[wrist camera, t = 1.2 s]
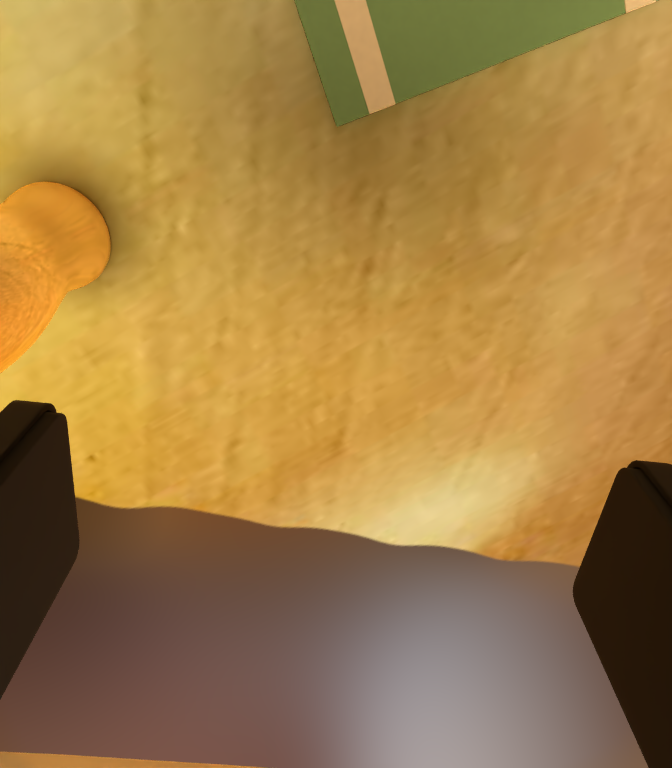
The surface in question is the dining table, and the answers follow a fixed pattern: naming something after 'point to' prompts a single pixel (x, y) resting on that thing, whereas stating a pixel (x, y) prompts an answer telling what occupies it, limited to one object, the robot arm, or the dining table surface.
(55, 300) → the beer glass
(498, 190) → the dining table surface
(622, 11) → the towel
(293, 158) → the dining table surface
